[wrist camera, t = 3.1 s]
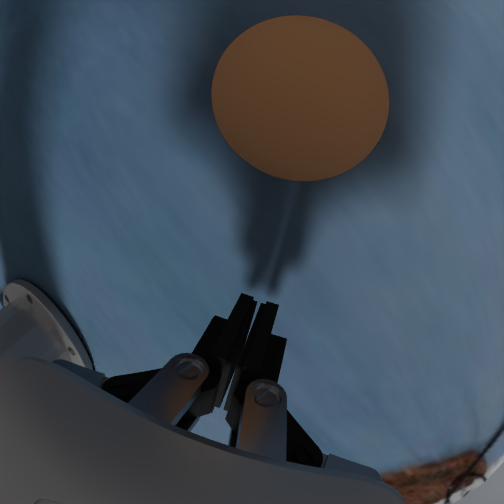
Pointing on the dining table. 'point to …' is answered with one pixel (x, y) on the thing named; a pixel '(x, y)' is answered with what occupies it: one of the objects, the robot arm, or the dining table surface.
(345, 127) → the ball
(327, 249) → the dining table surface
